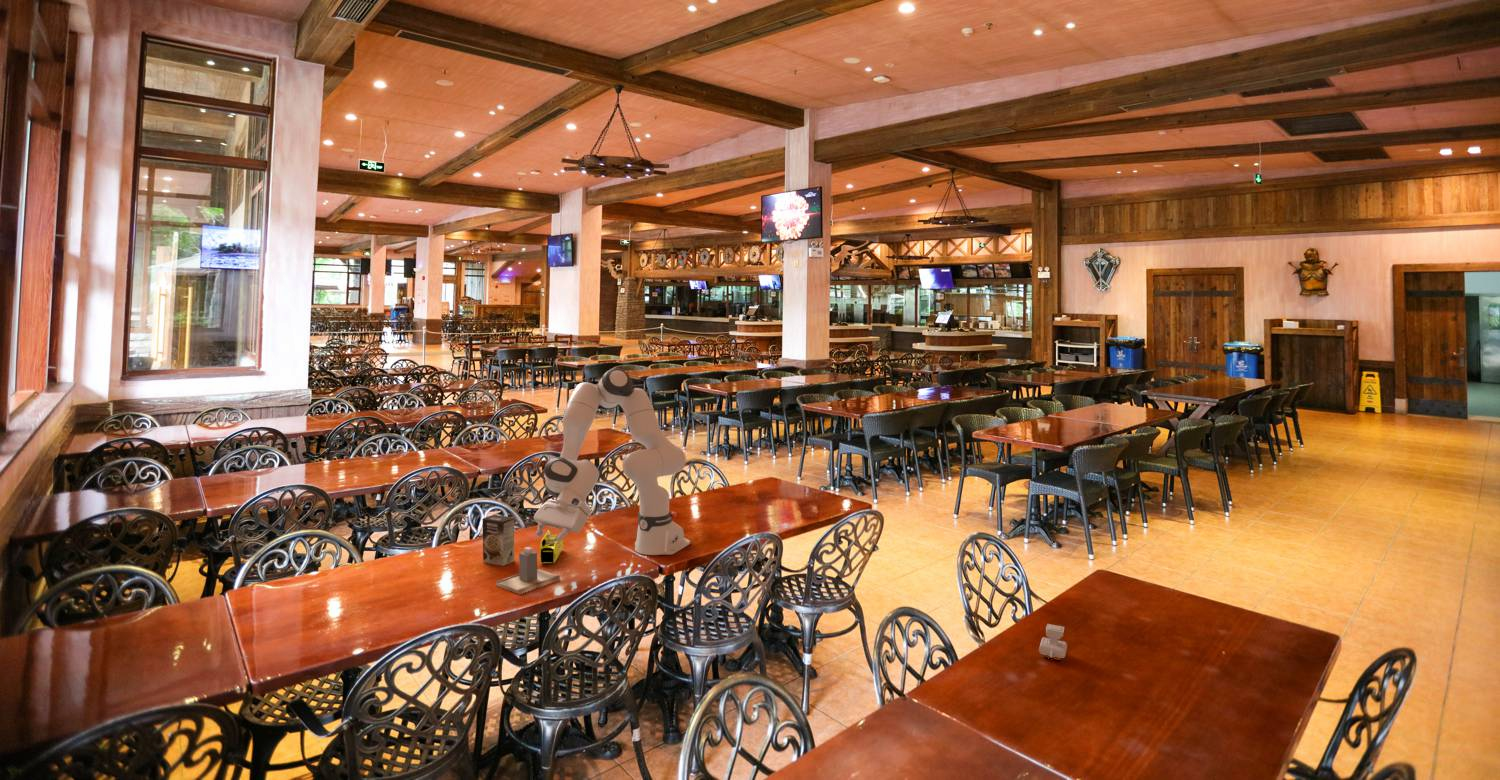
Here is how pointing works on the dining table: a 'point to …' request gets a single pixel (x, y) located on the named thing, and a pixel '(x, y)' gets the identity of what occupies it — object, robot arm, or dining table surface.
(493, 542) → the coffee box
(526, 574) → the grey bottle
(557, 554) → the yellow toy chassis
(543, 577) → the board
